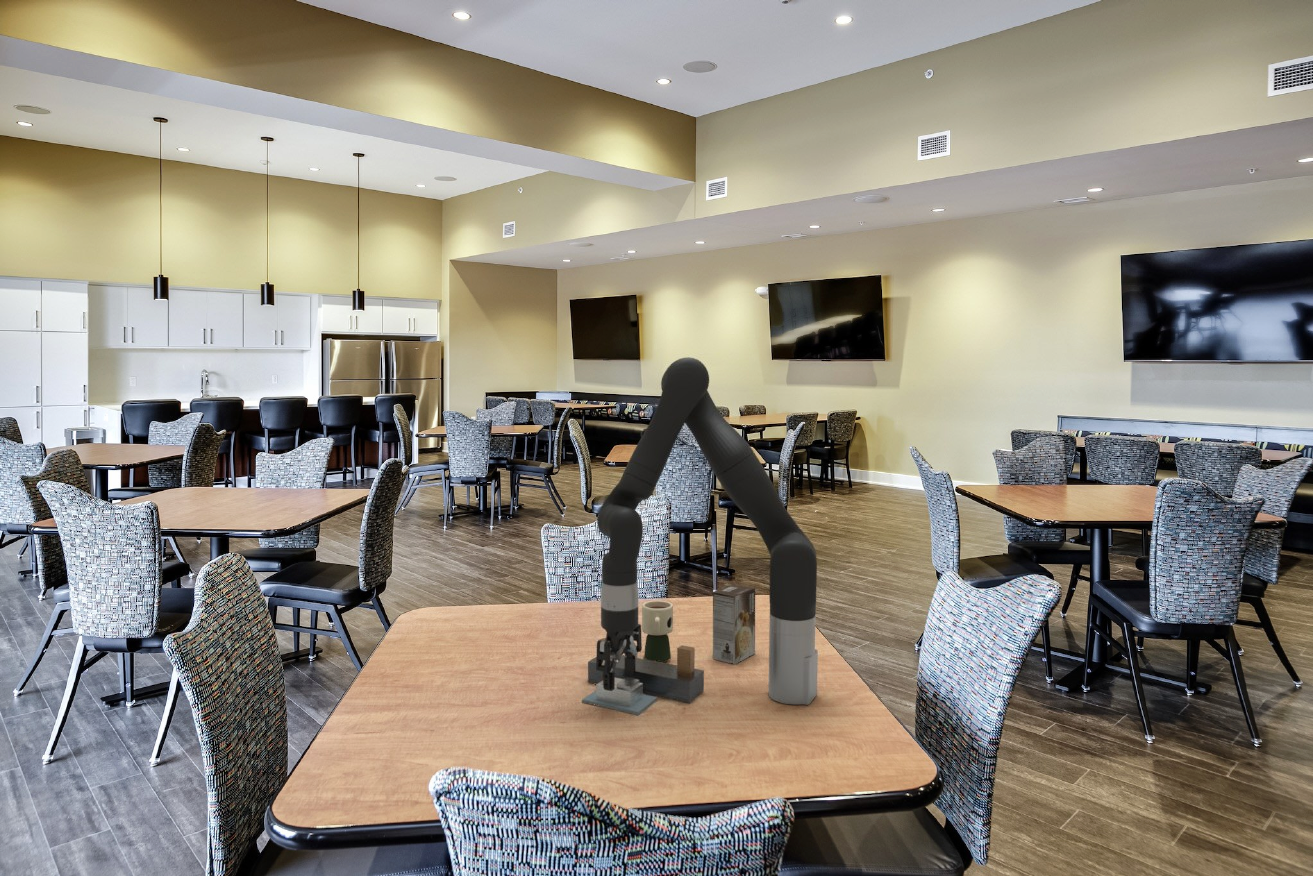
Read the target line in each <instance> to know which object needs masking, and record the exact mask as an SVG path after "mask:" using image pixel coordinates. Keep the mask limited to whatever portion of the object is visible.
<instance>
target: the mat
mask: <svg viewBox="0 0 1313 876" xmlns="http://www.w3.org/2000/svg"><path fill="white" fill-rule="evenodd" d="M657 701H658V697H656V696H651V695H646V694H643V698H642V699H640V700H639V701H638V702H636V703H635V704H634V705H632V706H631V707H630V706H625V705H621V704H616V703H612V702H607V701H603V700H598V699H596V689H595V690H594V691H592V692H591V693H589V694H587V695H586V696H585V697H583V698H582V699H581V703H582V702H585V703H584V704H587V703H591V704H595V705H594V706H596V705H599V706H598V707H600V706H602V707H601V708H605V709H606V708H607V709H609V710H615V711H618V712H619V711H620V712H623V713H628V714H632V715H636V716H639V715H641V714H642V713H643V712H645V711H646V710H648V708H649V707H651V706H652V705H653V704H655V703H656V702H657ZM591 704H590V705H591Z"/></svg>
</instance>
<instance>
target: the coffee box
mask: <svg viewBox="0 0 1313 876" xmlns="http://www.w3.org/2000/svg"><path fill="white" fill-rule="evenodd" d="M755 654H756V587H752V586H746V585H740V584H735V583H734V584H730V585H728V586H725V587H722V588H720V589H718V590H715V591H713V592H712V659H713V660H715V661H719V662H723V661H724V663H727V664H731V663H733V664H732V665H737V664H739V663H740V661H741V662H742V661H744V660H745V659H747V658H749V656H750V657H752V656H753V655H755ZM738 662H739V663H738ZM736 663H737V664H736Z"/></svg>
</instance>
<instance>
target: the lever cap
mask: <svg viewBox="0 0 1313 876" xmlns="http://www.w3.org/2000/svg"><path fill="white" fill-rule="evenodd" d="M595 690H596V699H598V700H603V701H607V702H612V703H616V704H621V705H625V706H630V707H631V706H632V705H634V704H635V703H636V702H638V701H639V700H640V699H642V698H643V683H640V680H638V679H633V678H628V677H626V678H625V679H619V678H615V689H614V690H612V691H609V690H605V689H604V688H603V680H602V681H601V682H599V683H598V684H596V685H595Z"/></svg>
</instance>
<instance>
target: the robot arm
mask: <svg viewBox="0 0 1313 876" xmlns="http://www.w3.org/2000/svg"><path fill="white" fill-rule="evenodd" d="M709 374H710V373H709V371H708V369H707V367H706V366H705V364H704V363H703V362H702V361H700V360H699V359H698V358H694V357H682V358H678V359H676V360H675V361H673V362H671V364H670V365H669V366H668V367H667V368H666V370H665V372H664V373H663V375H662V377H661V382H660V386H661V387H660V389H661V395H660V398H659V401H658V404H657V407H656V409H655V412H654V413H653V416H652V418H651V420H650V422H649V424H648V425H647V427H646V429H645V431H644V433H643V434H642V435H641V438H640V440H639V441H638V443H637V445H636V447H635V449H634V450H633V452H632V454H631V456H630V458H629V460H628V462H627V465H626V467H625V469H624V470H623V473H622V475H621V478H620V480H619V481H618V483H617V484H615V485H616V486H614V487H613V489H612V491H611V492H610V493H609V494H608V496H607V497H606V498H605V500H604V502H603V503H602V505H601V507H600V508H599V511H598V514H597V517H596V518H597V520H596V524H597V529H598V530H599V532H600V533H601V534H602V535H604V536H605V537H607V538H609V548H608V552H606V553H605V554H604V555H603V557H602V562H601V588H600V626H601V628H602V629H603V630H605V632H606V635H605V638H606V639H605V640H604V641H600V639H598V640H597V641H596V656H595V657H596V670H597V671H601V672H603V688H604V689H605V690H609V691H612V690H614V689H615V672H614V670H615V667H616V664H617V662H619V661H620V658H621V655H625V656H627V657H625V675H627V676H632V677H633V676H634V675H635V658H638V654H639V653H641V652H642V649H643V648H642V647H643V644H642V642H643V641H642V624H640V623H639V588H638V558H639V553H640V551H641V550H640V549H641V545H642V540H643V535H644V530H643V529H644V528H643V520H642V518H641V515H640V513H639V512H638V511H637V508H638V506H639V505H640V503H641V502H643V501H645V500H648V499H650V498H651V496H652V494H654V490H656V487H657V484H658V483H659V480H660V478H661V476H662V474H663V471H664V469H665V467H666V465H667V462H668V460H669V457H670V455H671V453H672V450H673V448H674V446H675V444H676V441H677V439H678V436H679V435H680V433H681V431H682V428H683V427H684V425H686V427H687V428H688V429H689V430H690V433H692V435H693V437H694V439H695V441H696V443H697V445H698V447H699V449H700V450H701V452H702V455H703V456H704V458H705V460H706V461H707V463H708V464H709V467H710V469H711V471H712V472H713V473H714V475H715V476H716V479H717V480H718V482H719V483H720V485H721V488H723V490H724V491H725V493H726V494H727V496H728V497H729V498H730V500H731V501H732V502H733V503H734V504H735V506H737V507H738V508H739V510H741V513H743V514H744V515H745V516H746V517H747V519H749V520H750V522H751V523H752V524H753V525H754V527H755V528H756V530H757V531H758V533H759V535H760V536H761V539H762V541H763V542H764V544H765V546H766V548H767V550H768V551H767V552H768V553H769V556H770V558H769V598H768V599H769V633H768V634H769V636H768V637H769V638H768V640H769V641H768V642H769V645H768V696H769V698H770V699H771V700H774V701H775V702H778V703H779V704H785V705H807V706H809V705H810V704H811V703H812V702H813V700H814V698H816V697H817V695H818V661H819V660H818V659H819V652H818V649H816V612H817V611H816V609H817V580H818V579H817V576H818V574H817V573H818V561H817V551H816V548H815V546H814V544H813V543H812V541H811V539H809V537H808V536H807V535H806V534H805V533H804V531H803V530H802V529H801V528H800V526H799V525H798V524H797V522H796V521H795V520H794V519H793V517H792V516H791V515H790V513H789V512H788V510H787V509H786V507H785V506H784V504H783V502H782V499H781V498H780V496H779V494H778V492H777V489H776V488H775V486H774V484H773V482H772V480H771V478H770V477H769V474H768V473H767V471H766V469H765V468H764V466H763V464H762V462H761V461H760V458H758V457H757V455H756V452H754V450H753V449H752V446H750V444H749V443H748V441H746V439H745V438H744V437H743V436H742V435H741V434H740V433H739V432H738V431H737V430H736V429H735V428H734V427H733V426H732V424H730V423H729V422H728V421H727V419H725V417H723V415H722V413H720V410H719V409H718V407H717V406H716V404H715V402H714V400H713V399H712V397H711V395H710V393H709V390H708V389H709V386H710V375H709ZM635 642H636V643H635ZM610 653H611V654H612V655H615V656H611V655H610ZM602 660H603V663H602V665H601V661H602ZM610 661H612V663H611V666H610Z"/></svg>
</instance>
